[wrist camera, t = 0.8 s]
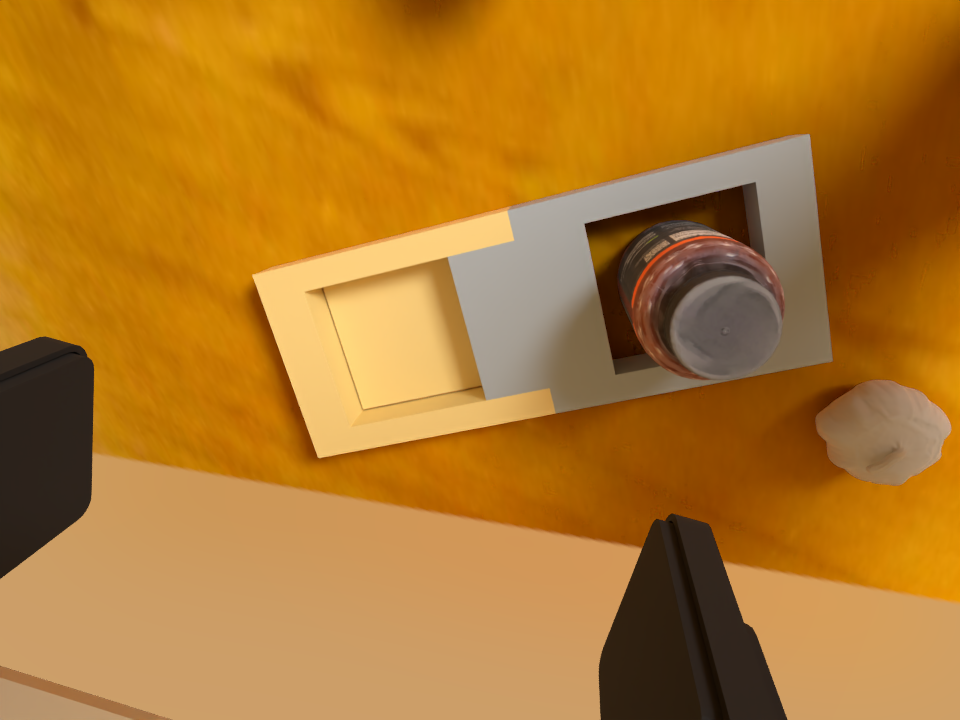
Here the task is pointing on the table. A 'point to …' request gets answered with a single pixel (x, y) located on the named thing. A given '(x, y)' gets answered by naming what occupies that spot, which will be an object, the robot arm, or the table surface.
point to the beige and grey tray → (518, 307)
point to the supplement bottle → (701, 301)
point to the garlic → (883, 432)
